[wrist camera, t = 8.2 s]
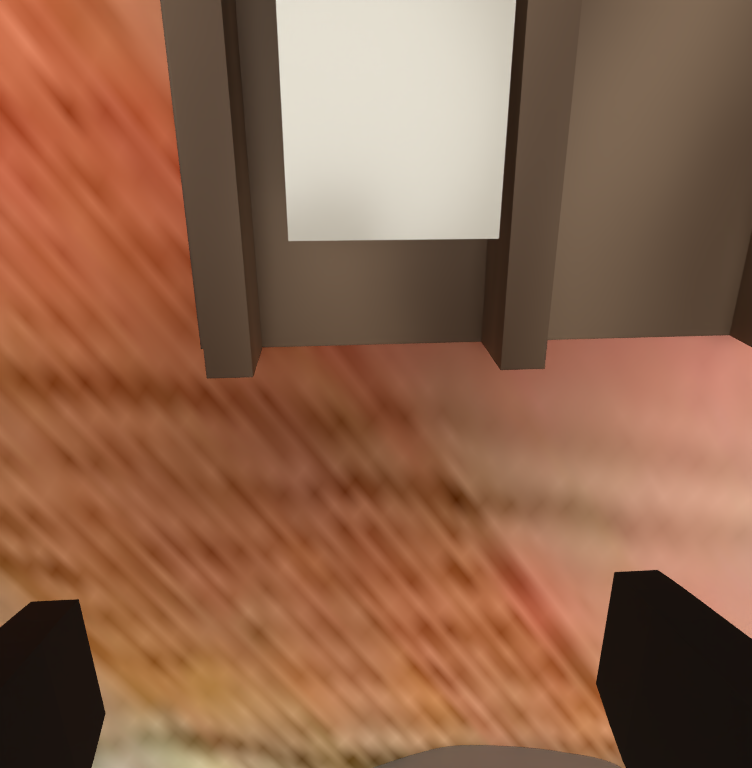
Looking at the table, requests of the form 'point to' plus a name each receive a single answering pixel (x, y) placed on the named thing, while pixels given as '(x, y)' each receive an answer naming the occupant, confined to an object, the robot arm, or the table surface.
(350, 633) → the table surface
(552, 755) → the lumpy-topped squat cylinder
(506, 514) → the table surface
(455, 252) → the rack
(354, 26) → the white rectangular block
